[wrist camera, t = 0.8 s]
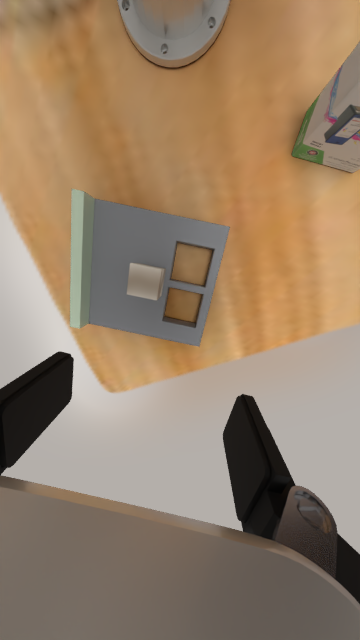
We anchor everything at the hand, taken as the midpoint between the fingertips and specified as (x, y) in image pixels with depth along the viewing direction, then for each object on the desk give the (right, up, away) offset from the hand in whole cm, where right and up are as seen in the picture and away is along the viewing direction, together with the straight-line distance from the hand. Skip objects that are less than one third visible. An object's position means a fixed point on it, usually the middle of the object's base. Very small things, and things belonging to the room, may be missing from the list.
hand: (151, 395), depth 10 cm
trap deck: (-3, +11, +19) cm, 22 cm away
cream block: (-3, +10, +17) cm, 20 cm away
